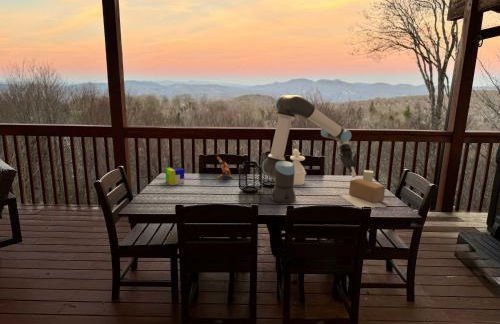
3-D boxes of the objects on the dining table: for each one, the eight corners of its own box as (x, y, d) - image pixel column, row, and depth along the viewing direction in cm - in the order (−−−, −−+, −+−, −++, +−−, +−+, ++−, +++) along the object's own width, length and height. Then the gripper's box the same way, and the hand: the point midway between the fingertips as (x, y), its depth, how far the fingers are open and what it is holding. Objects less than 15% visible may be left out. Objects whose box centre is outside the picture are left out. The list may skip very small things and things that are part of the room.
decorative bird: (208, 168, 264) (216, 151, 262) (229, 177, 268) (237, 160, 265) (208, 178, 237) (216, 159, 234) (231, 187, 240) (240, 168, 238)
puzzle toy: (184, 183, 236) (184, 169, 233) (171, 185, 230) (170, 171, 228) (179, 179, 244) (178, 166, 241) (165, 181, 238) (165, 168, 236)
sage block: (361, 191, 227) (363, 171, 223) (362, 189, 232) (364, 169, 229) (370, 192, 224) (373, 172, 221) (371, 190, 230) (373, 170, 227)
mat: (340, 196, 215) (340, 195, 215) (365, 195, 219) (365, 194, 219) (358, 208, 193) (358, 207, 193) (385, 207, 197) (386, 206, 197)
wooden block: (348, 194, 217) (373, 203, 201) (349, 180, 215) (375, 188, 199) (358, 192, 223) (384, 201, 206) (359, 178, 221) (386, 185, 204)
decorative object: (282, 181, 247) (283, 148, 242) (297, 179, 253) (299, 147, 248) (294, 186, 234) (296, 152, 228) (309, 184, 240) (311, 150, 234)
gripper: (350, 149, 232) (360, 178, 219) (333, 149, 229) (342, 179, 217) (355, 143, 225) (366, 173, 213) (337, 143, 223) (347, 173, 210)
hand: (354, 176), depth 215 cm, fingers closed
